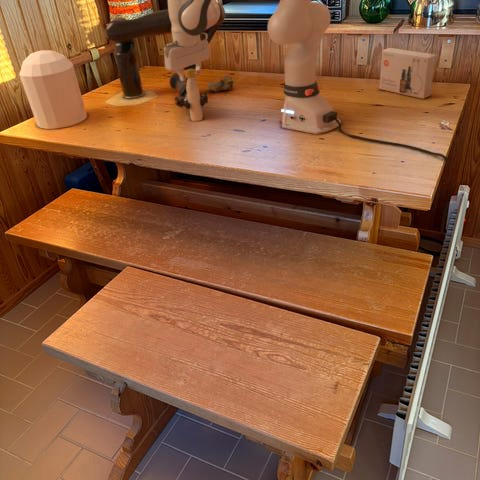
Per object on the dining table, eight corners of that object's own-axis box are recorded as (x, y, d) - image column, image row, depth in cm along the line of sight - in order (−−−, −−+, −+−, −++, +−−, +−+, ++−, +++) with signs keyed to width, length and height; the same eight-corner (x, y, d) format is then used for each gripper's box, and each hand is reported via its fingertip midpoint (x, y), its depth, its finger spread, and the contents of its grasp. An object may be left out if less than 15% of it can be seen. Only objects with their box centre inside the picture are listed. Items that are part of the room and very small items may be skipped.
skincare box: (377, 89, 194) (381, 50, 185) (385, 86, 197) (389, 47, 188) (423, 99, 180) (429, 56, 171) (430, 95, 183) (437, 53, 174)
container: (71, 129, 186) (49, 56, 170) (26, 128, 191) (0, 58, 175) (96, 110, 202) (78, 43, 186) (54, 111, 207) (33, 45, 191)
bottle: (201, 116, 186) (195, 69, 176) (203, 120, 182) (197, 72, 172) (190, 118, 186) (182, 70, 175) (191, 121, 182) (184, 74, 171)
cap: (185, 75, 176) (184, 69, 175) (195, 74, 176) (194, 68, 175) (186, 78, 173) (185, 72, 171) (196, 77, 173) (195, 70, 172)
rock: (207, 90, 217) (212, 93, 208) (206, 76, 214) (210, 78, 205) (229, 87, 219) (235, 90, 210) (228, 73, 216) (233, 75, 207)
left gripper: (169, 87, 188) (176, 98, 175) (203, 81, 191) (212, 92, 177) (172, 105, 193) (179, 118, 179) (206, 99, 195) (215, 111, 182)
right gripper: (169, 45, 158) (176, 86, 166) (210, 33, 171) (214, 71, 178) (157, 44, 162) (164, 84, 170) (198, 32, 174) (203, 69, 182)
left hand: (195, 105), depth 178 cm, fingers closed on bottle, 5 cm apart
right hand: (190, 77), depth 174 cm, fingers open, 6 cm apart
